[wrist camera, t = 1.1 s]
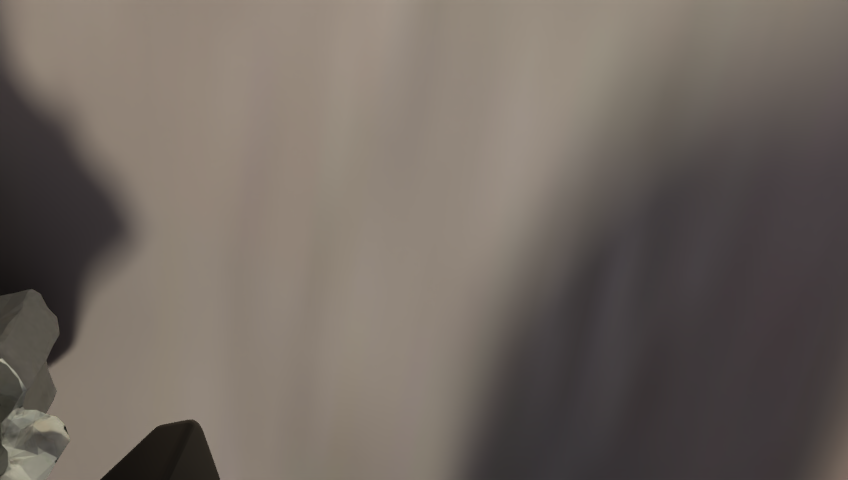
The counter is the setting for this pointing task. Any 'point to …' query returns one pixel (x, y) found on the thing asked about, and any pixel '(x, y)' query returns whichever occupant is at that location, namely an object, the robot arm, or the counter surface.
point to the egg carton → (27, 389)
